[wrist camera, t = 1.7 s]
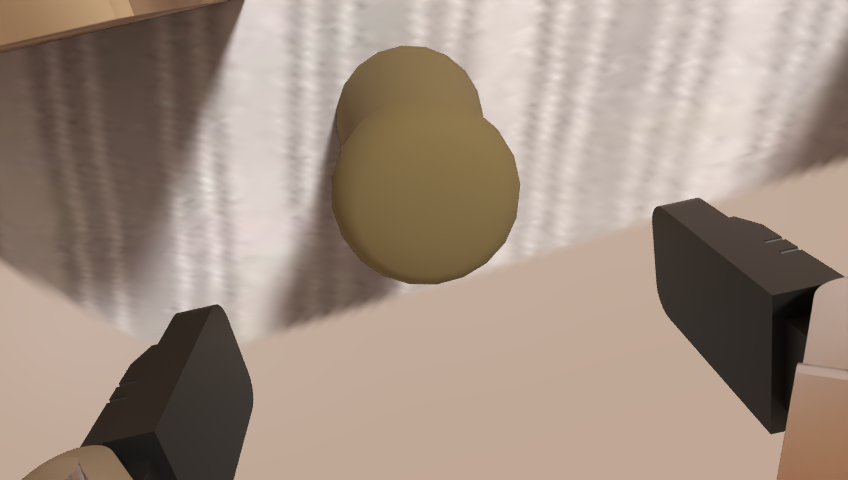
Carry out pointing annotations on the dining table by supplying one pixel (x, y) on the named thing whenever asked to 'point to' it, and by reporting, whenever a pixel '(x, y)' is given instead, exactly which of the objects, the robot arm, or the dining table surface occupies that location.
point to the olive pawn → (420, 169)
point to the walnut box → (76, 17)
